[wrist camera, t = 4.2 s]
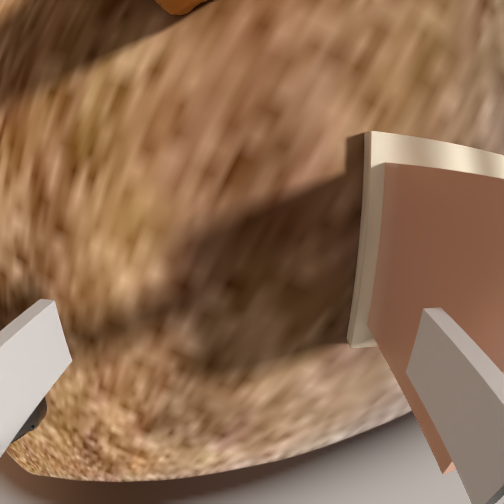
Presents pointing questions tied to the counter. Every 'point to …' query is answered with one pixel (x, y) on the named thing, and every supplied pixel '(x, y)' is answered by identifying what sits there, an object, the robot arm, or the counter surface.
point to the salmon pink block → (438, 269)
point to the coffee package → (178, 5)
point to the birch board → (375, 155)
